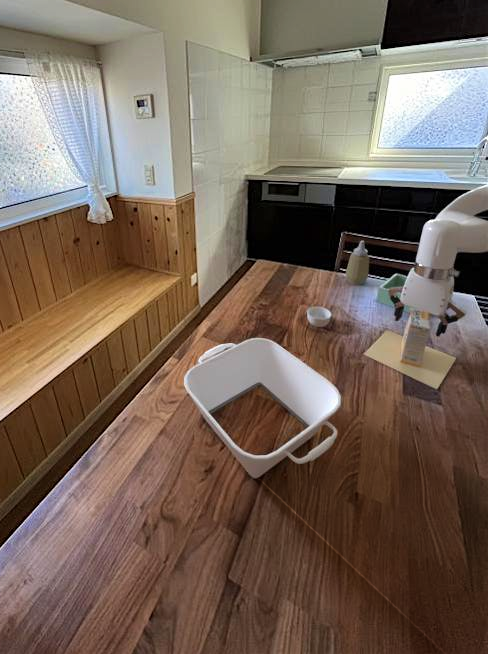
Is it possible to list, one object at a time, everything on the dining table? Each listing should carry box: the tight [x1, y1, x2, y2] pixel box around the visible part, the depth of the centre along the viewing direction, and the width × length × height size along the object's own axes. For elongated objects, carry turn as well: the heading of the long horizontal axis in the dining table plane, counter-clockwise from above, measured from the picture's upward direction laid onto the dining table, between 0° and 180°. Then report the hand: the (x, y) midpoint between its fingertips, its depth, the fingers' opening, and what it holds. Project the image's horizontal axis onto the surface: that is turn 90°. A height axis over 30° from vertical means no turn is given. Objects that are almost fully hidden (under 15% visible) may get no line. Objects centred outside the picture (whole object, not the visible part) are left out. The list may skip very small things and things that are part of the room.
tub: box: [183, 337, 342, 479], centre depth 75 cm, size 34×27×13 cm
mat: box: [363, 329, 457, 390], centre depth 94 cm, size 18×16×1 cm
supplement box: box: [400, 308, 432, 367], centre depth 91 cm, size 8×5×13 cm, turn 149°
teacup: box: [306, 306, 332, 328], centre depth 110 cm, size 10×10×5 cm
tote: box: [375, 272, 419, 313], centre depth 119 cm, size 13×15×6 cm
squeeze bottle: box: [345, 240, 370, 286], centre depth 131 cm, size 8×8×18 cm
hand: (417, 326), depth 90 cm, fingers open, 9 cm apart
